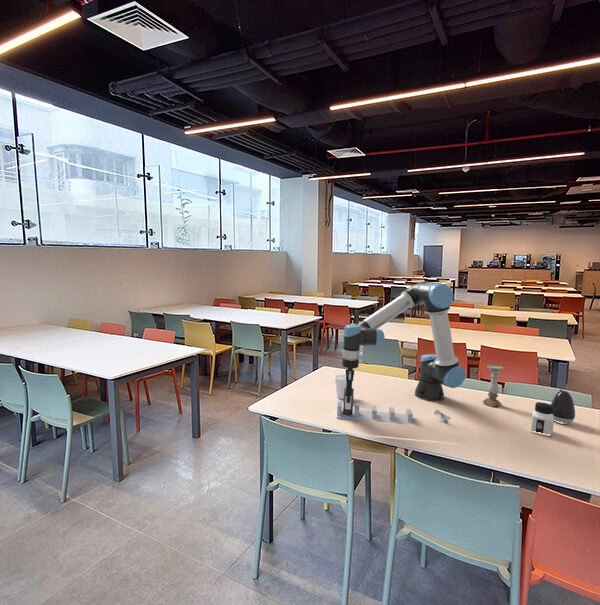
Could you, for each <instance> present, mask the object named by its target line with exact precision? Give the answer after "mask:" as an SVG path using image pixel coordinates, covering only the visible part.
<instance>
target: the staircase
mask: <svg viewBox="0 0 600 605" xmlns="http://www.w3.org/2000/svg"><path fill="white" fill-rule="evenodd" d="M434 415H435V416H437V417H439V419H440V420H441V422H442V423H445V422H446V423H445V424H447V425H448V424H449V420H450V419H451V420H452V417H451V416H449V415H447V414H445V413H443V412H440V410H439V409H435V410H434Z"/></svg>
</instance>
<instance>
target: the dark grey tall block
mask: <svg viewBox="0 0 600 605" xmlns="http://www.w3.org/2000/svg"><path fill="white" fill-rule="evenodd" d="M354 391H355V389H354V388H353V387H352V397H351V409H345V398H346V396H344V399H343V404H342V409H343V414H344V415H348V416H350V415H352V413H353V410H354ZM344 394H346V388H344Z"/></svg>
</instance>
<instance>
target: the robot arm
mask: <svg viewBox="0 0 600 605" xmlns="http://www.w3.org/2000/svg"><path fill="white" fill-rule="evenodd" d="M453 301H454V292H453V290H452V289H451V287H450V286H449V285H447V284H445V283H441V282H431V281H420V282H417V283H415V284H413V285H411V286H410V287H408V288H406V289H404V291H402V292H401V293H400V295H399V296H398V297H396V298H395V299H393V300H392V301H390V302H389V303H388V304H386V305H384V306H383V307H382V308H380V309H378V310H377V311H375V312H374V313H372V314H371V315H370V316H368V317H366V318H365V319H364V320H362V321H360V322H358V323H357V322H356V323H352V324H346V325H345V326H344V330H343V331H344V332H343V343H342V344H343V346H342V347H343V348H342V349H343V350H341V353H342V361H341V362H342V363H341V365H342V366H341V367H343V368H345V375H346V381H347V385H346V394H344V396H346V398H345V409H351V397H352V388H353V381H354V377H355V376H354V375H355V369H357V368H359V362H360V361H359V358H360V348H361V346H364V347H365V346H380V345H383V343H384V342H385V338H386V337H385V333H384V331H383V330H382V329H380V328H381V327H383V326H384V325H385V324H387V323H388V322H390V321H392V319H395V318H396V317H397V316H399V315H400V314H401V313H403V312H405V311H406V310H408V309H409V308H411V309H413V308H414V307H416V306H419V305H424V311H425V313H427V315H429V320H430V326H431V333H432V339H433V343H434V349H435V354H428V353H427V354H423V355H421V356H420V363H419V364H420V366H419V377H418V378H419V379H418V383H417V386H416V387H415V390H414V396H415V397H417V398H419V399H422V400H426V401H434V402H436V401H437V402H439V401H442V400H444V399H445V391H444V388H443V386H445V387H447V388H451V389H455V388H458V387H460V386H462V385H463V382H464V381H465V379H466V374H467V372H466V370H465V368H463V366H460V361H459V360H460V359H459V358H458V357H457V356H456V355H455V351H454V344H453V338H452V333H451V325H450V320H449V314H448V312H449V311H450V309H451V305H452V303H453Z"/></svg>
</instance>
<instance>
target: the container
mask: <svg viewBox="0 0 600 605" xmlns="http://www.w3.org/2000/svg"><path fill="white" fill-rule="evenodd" d="M552 413H553V406H552V405H551V403H548V402H545V401H544V402H543V401H537V402H536V403H535V406H534V410H533V411H532V416H531V425H530V432H531V431H536V432H541V433H545V434H550V435H552V436H553V432H554V423H555V421H554V418H553V415H552Z"/></svg>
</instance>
